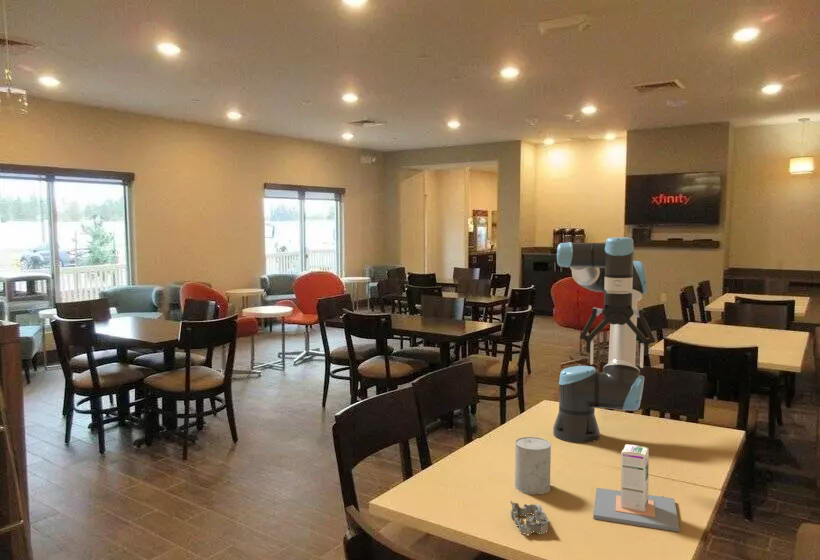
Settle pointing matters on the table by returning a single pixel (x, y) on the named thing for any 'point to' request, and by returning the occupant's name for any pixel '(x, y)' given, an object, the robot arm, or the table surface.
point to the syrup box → (634, 477)
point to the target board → (655, 515)
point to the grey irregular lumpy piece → (530, 518)
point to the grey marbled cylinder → (532, 465)
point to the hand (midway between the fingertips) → (616, 365)
